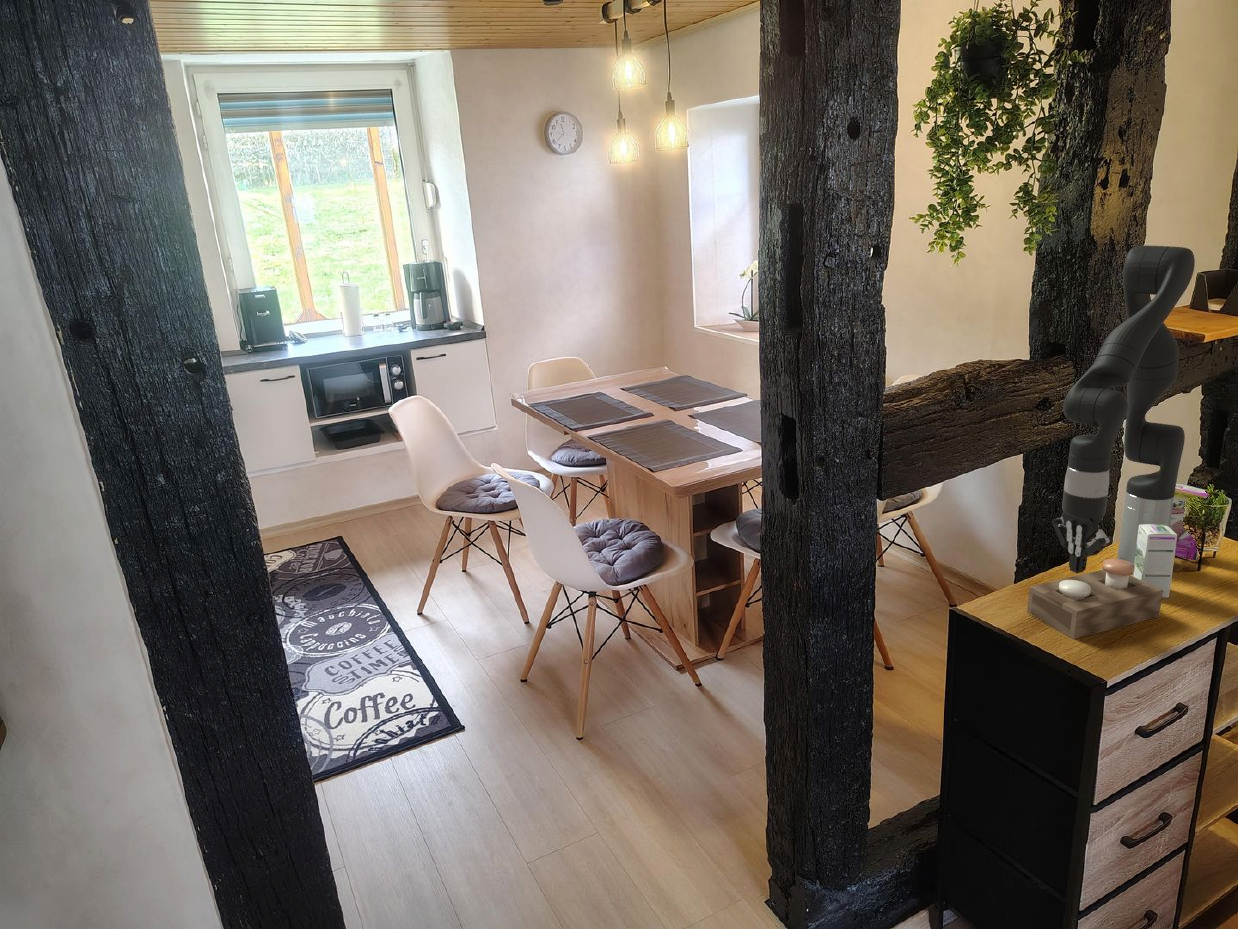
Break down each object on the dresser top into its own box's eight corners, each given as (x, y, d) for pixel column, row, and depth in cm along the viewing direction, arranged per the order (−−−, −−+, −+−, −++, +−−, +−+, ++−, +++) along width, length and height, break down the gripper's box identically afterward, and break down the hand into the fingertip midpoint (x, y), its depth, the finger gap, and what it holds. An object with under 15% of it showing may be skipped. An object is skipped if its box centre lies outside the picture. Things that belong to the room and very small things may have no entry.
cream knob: (1070, 609, 177) (1074, 577, 175) (1093, 621, 172) (1097, 588, 170) (1049, 615, 175) (1052, 583, 173) (1071, 627, 170) (1075, 594, 168)
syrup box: (1170, 598, 181) (1179, 534, 176) (1139, 597, 182) (1148, 533, 178) (1159, 586, 186) (1168, 524, 182) (1129, 585, 187) (1138, 523, 183)
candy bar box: (1144, 549, 205) (1153, 484, 200) (1155, 543, 207) (1164, 479, 202) (1195, 564, 196) (1206, 496, 191) (1206, 558, 198) (1217, 491, 193)
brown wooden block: (1108, 593, 184) (1112, 567, 183) (1159, 616, 173) (1163, 589, 172) (1026, 613, 178) (1029, 586, 176) (1073, 639, 167) (1077, 611, 165)
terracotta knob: (1113, 588, 180) (1117, 556, 178) (1136, 599, 175) (1141, 567, 172) (1092, 593, 178) (1096, 561, 176) (1115, 604, 173) (1120, 572, 171)
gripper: (1130, 496, 161) (1119, 580, 166) (1073, 476, 173) (1065, 555, 178) (1099, 503, 158) (1089, 588, 164) (1043, 482, 170) (1036, 562, 176)
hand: (1076, 571), depth 171 cm, fingers closed
